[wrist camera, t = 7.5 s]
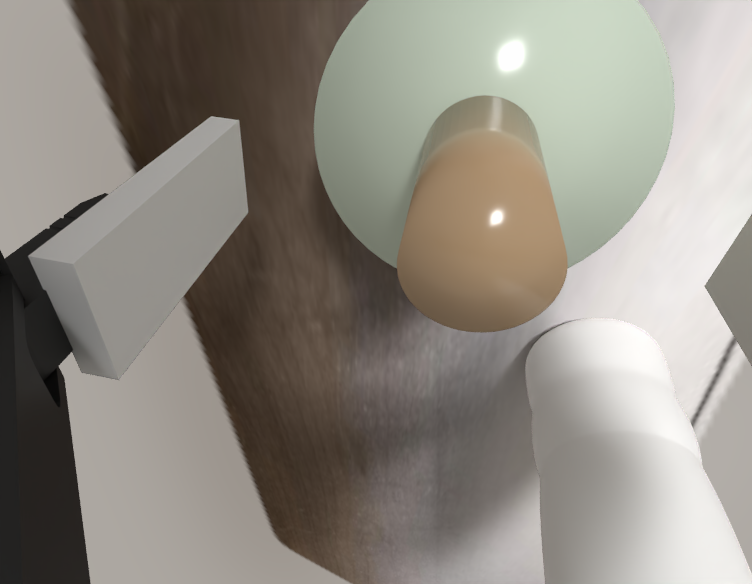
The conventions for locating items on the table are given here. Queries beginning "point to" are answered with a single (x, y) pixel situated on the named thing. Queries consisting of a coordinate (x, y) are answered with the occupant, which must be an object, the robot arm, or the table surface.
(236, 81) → the table surface
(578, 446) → the water bottle
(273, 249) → the table surface
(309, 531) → the table surface
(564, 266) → the lid
